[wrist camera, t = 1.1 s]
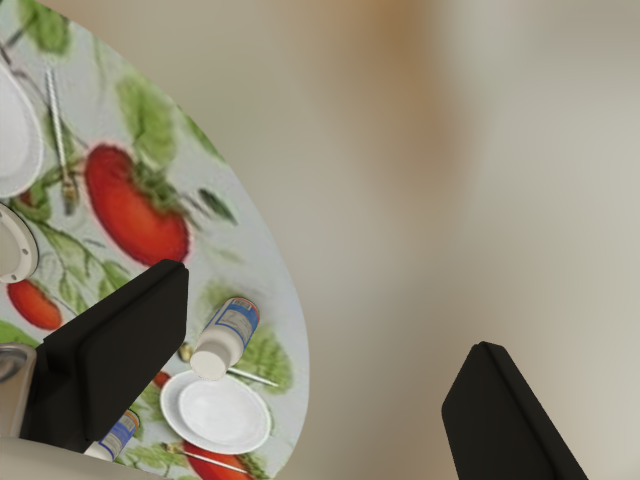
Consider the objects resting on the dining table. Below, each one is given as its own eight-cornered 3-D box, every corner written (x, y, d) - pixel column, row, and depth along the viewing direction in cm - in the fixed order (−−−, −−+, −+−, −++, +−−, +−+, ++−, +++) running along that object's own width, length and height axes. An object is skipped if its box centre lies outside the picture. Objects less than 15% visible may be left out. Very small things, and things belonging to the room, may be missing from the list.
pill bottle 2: (235, 334, 42) (199, 391, 33) (215, 303, 41) (172, 354, 32) (267, 323, 41) (240, 379, 32) (248, 290, 39) (213, 340, 30)
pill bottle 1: (114, 425, 54) (63, 485, 45) (109, 403, 52) (55, 462, 43) (142, 431, 53) (96, 494, 44) (139, 410, 51) (90, 470, 42)
